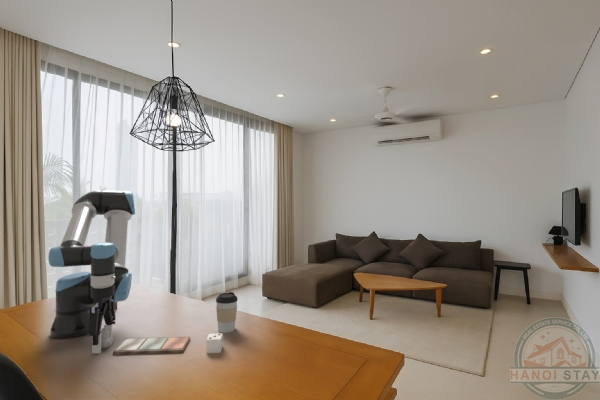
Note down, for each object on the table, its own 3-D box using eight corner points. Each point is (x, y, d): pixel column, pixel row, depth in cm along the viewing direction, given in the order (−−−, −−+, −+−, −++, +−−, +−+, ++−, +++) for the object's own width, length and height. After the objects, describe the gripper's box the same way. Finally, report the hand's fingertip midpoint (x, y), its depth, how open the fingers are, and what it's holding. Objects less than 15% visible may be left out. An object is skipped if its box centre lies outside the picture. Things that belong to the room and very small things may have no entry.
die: (206, 353, 117) (206, 339, 117) (208, 347, 122) (209, 333, 122) (220, 353, 118) (220, 339, 118) (222, 346, 123) (222, 333, 123)
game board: (112, 354, 115) (112, 351, 115) (126, 340, 126) (126, 337, 126) (182, 352, 117) (182, 349, 117) (190, 339, 128) (190, 336, 128)
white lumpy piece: (115, 346, 122) (115, 324, 122) (98, 353, 116) (98, 331, 116) (106, 343, 124) (106, 322, 124) (88, 350, 118) (89, 328, 118)
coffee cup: (226, 335, 132) (226, 298, 132) (210, 330, 137) (211, 294, 136) (241, 328, 139) (242, 293, 139) (226, 323, 144) (226, 289, 144)
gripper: (99, 293, 110) (98, 361, 110) (125, 278, 130) (125, 335, 130) (75, 294, 109) (75, 362, 109) (105, 278, 129) (105, 335, 130)
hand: (102, 347), depth 120 cm, fingers open, 8 cm apart
